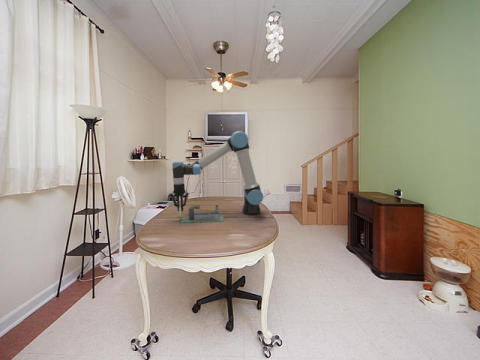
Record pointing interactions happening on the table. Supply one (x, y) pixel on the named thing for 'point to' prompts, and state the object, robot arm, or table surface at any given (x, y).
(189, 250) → the table surface
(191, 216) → the clip
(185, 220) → the board
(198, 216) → the heatsink
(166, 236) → the table surface
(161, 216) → the table surface
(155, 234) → the table surface
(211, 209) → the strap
